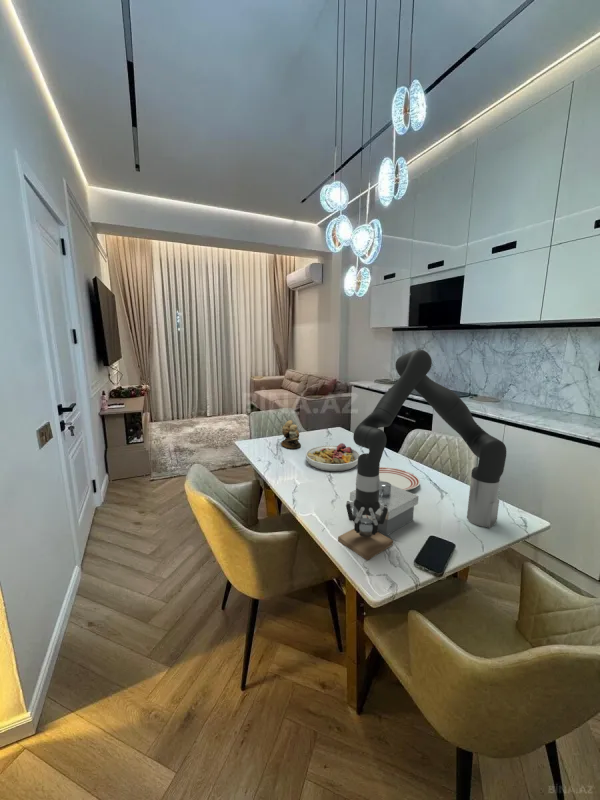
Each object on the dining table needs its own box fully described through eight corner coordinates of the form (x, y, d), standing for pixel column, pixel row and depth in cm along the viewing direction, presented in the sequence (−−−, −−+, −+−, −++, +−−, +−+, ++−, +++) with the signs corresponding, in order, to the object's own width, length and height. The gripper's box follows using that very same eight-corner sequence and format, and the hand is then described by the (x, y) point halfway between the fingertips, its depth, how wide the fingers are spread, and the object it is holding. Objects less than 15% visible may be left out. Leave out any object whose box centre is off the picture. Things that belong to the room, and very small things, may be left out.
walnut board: (393, 544, 111) (393, 540, 111) (367, 560, 103) (367, 556, 103) (363, 527, 121) (363, 523, 121) (338, 540, 113) (338, 536, 113)
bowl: (347, 478, 164) (348, 463, 162) (295, 466, 179) (295, 452, 177) (367, 459, 189) (367, 446, 188) (320, 450, 204) (320, 438, 203)
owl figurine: (305, 448, 207) (305, 422, 203) (288, 451, 201) (288, 424, 198) (293, 440, 222) (293, 415, 219) (277, 443, 217) (276, 418, 214)
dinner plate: (370, 467, 177) (371, 462, 176) (424, 479, 163) (425, 472, 162) (351, 487, 153) (351, 481, 153) (412, 502, 140) (412, 495, 139)
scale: (412, 520, 126) (414, 500, 124) (384, 536, 115) (386, 515, 114) (379, 503, 138) (380, 486, 137) (351, 517, 128) (351, 498, 126)
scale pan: (417, 503, 124) (418, 496, 124) (388, 520, 113) (388, 511, 113) (379, 487, 138) (379, 479, 138) (349, 500, 127) (350, 492, 127)
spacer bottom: (393, 494, 125) (393, 484, 124) (384, 498, 122) (384, 488, 121) (383, 490, 129) (383, 480, 128) (374, 493, 126) (374, 483, 125)
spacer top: (376, 533, 111) (376, 522, 110) (366, 539, 108) (366, 528, 107) (364, 526, 115) (365, 516, 114) (355, 532, 112) (355, 521, 111)
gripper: (389, 482, 110) (386, 528, 114) (346, 479, 113) (345, 524, 117) (390, 493, 103) (388, 541, 107) (344, 488, 106) (343, 536, 109)
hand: (365, 532), depth 112 cm, fingers closed on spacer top, 5 cm apart
